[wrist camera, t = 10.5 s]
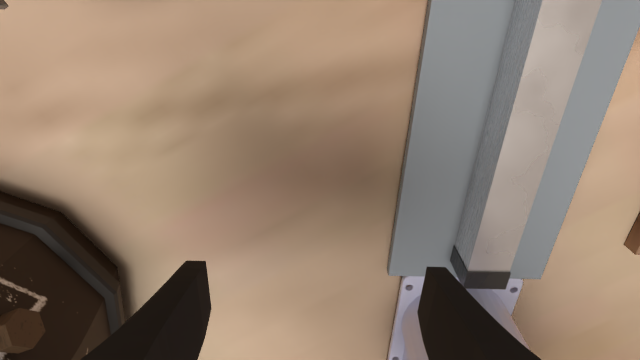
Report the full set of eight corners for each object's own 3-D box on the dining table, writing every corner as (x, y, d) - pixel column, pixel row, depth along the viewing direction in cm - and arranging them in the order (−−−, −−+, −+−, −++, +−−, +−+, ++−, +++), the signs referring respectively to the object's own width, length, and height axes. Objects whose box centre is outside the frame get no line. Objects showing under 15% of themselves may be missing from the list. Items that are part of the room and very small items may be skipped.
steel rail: (488, 261, 25) (505, 289, 23) (449, 260, 25) (462, 288, 23) (642, -245, 14) (703, -285, 12) (574, -250, 14) (623, -291, 12)
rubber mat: (535, 272, 26) (540, 279, 26) (387, 269, 26) (388, 275, 25) (749, -287, 14) (766, -297, 14) (474, -305, 14) (481, -315, 13)
